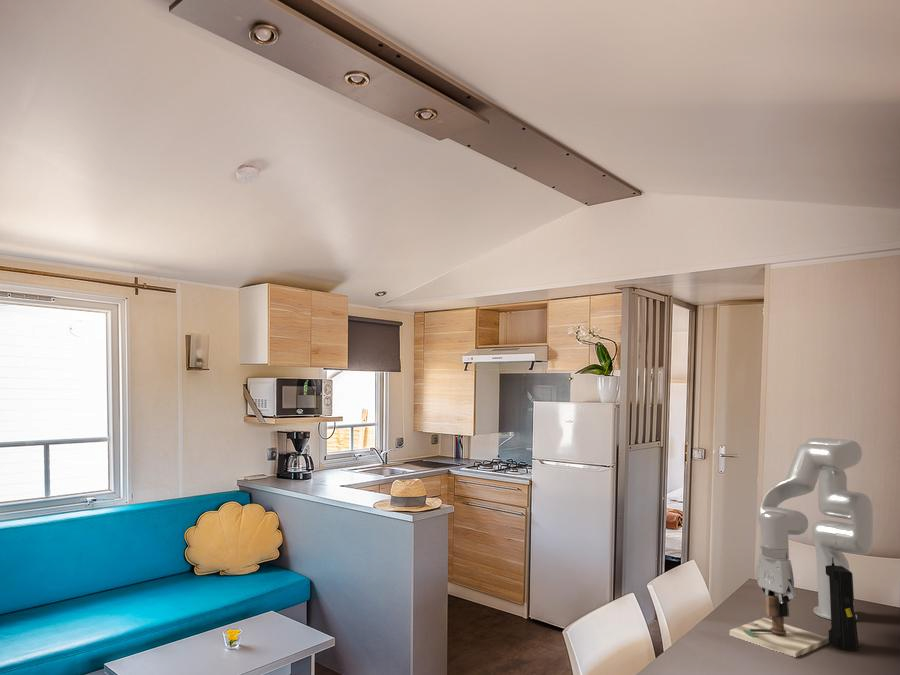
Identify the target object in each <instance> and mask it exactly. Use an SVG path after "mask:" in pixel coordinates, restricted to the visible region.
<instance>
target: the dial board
mask: <svg viewBox="0 0 900 675" xmlns="http://www.w3.org/2000/svg"><path fill="white" fill-rule="evenodd" d="M771 627H772V619H769V618H767V617H762V618H759V619H756V620H754V621H751V622H748V623H745V624H743V625H739V626H737V627H734V628H732V629H729V636H731V637H734V638H737V639H740V640H742V641H746V642H747V643H748V642H749V643H750V642H751V644H753V643H754V645H756V644H757V645H756V646H759V645H760V647H763V648H765V649H767V650H772V651H773V650H774V652H776V651H777V652H776V653H779V652H781V653H780V654H782V653H784V654H783V655H785V654H786V655H785V656H788V655H789V656H788V657H791V656H793V657H792V658H794V657H797V658H798V656H799V657H801V656H803V655H805V653H806V654H807V653H810V652H812V651H814V650H816V649H818V648H821V647H823V646H824V645H828V644H829V643H830V641H829V636H824V635H821V634H818V633H815V632H812V631H808V630H806V629H802V628H798V627H794V626H792V625H789V624H786V623H784V629H785V630H786V634H784V635H778V634H774V633H772V632H751V631H750V629H770V628H771ZM800 655H801V656H800Z"/></svg>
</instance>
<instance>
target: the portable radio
mask: <svg viewBox="0 0 900 675" xmlns="http://www.w3.org/2000/svg"><path fill="white" fill-rule="evenodd" d="M825 568H826V575H828V576H829V583H830V605H831V620H830V627H831V628H830V629H828V638H829V643H830V644H832V645H833V647H835V648H836V649H838V650H844V651H853V652H854V651H858V650H859V649H860V643H859V637H858V636H859V635H858V628H857V620H856V615H857V614H856V612H855V609H854V608H855V606H854V605H855V603H854V604H853V602H854V600H855V597H854V596H855V595H854V581H853V580H854V579H853V578H854V576H853V573H852V571H850V569H849V570H847V569H846V568H844V567H843V566H834V560H833V559H832V565H828V566H825Z"/></svg>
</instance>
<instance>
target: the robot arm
mask: <svg viewBox="0 0 900 675" xmlns="http://www.w3.org/2000/svg"><path fill="white" fill-rule="evenodd" d="M862 457H863V450H862V447H861V445H860V444H859V443H858V441H855V440H852V439H845V438H844V439H842V438H841V439H840V438H830V437H829V438H828V437H813V438H809V439H807V440H806V441H805V442H804V443H803V444H801V445H799V446H798V447H797V448H796V451H795V453H794V456H793V459H792V461H791V464H790V467H789V470H788V472H787V476H786V477H785V479H783V480H782V481H780V482H778V483H777V484H775V485H774V486H772V488H770V489H769V490H768V491H767V492H766V493H765V494H764V496H763V498H762V501H761V503H760V506H759V509H758V512H757V521H758V524H759V525H760V537H761V538H760V539H761V541H760V542H761V545H760V546H759V548H760V550H761V554H759V557H758V562H757V585H758V587H759V588H761V590H762V591H763V593H764V597H765V598H766V596H776V594H778V595H777V596H779V602H780V603H778V616H780V617H782V616H787V615H788V610H787V603H789V604H790V601H791V600H793V599H796V598H797V594H796V592H795V581H794V580H795V578H794V572H793V566H792V562H791V559H790V551H789V550H790V549H789V536H800V535H803V534H804V533H806V532H807V530H808V528H809V520H808V517H807V516H806V515H805V514H804V513H803V512H801V511H798V510H794V509H788V508H783V507H778V506H779V505H780V504H782V503H783V502H785V501H787V500H789V499H792V498H796V497H799V496H800V497H801V496H805V495H808V494H811V493H812V492H813V491H814V490H815V488H816V486H817V485H818V486H817V487H818V488H817V489H818V490H817V492H818V493H817V506H818V510H819V512H820V513H821V514H822V515H825V516H828V517H832V518H838V519H844V520H850V521H852V523H846V522H842V521H837V520H836V521H835V520H830V519H823V520H822V519H821V520H817V521H815V523H814V524H813V525H812V529H811V535H812V540H813V543H814V547H815V553H816V573H817V574H816V575H817V578H816V579H817V595H818V596H817V599H818V601H817V602H818V605H817V606H815V607H813V613H814V614H815V615H817V616H818V617H821V618H823V619H827V620H830V621H831V605H830V583H829V576H828V575H826V568H825V566H828V565H832V559H833V560H834V566H843V567H844V568H846V569H847V570H849V571H850V564H849V561H848V559H847V557H846V555H845V554H844V553H848V554H854V555H859V556H866V555H868V554H869V553H870V552H871V551H872V548H873V538H874V536H873V527H874V526H873V523H874V522H873V519H874V518H873V515H874V512H873V504H872V500H871V499H870V498H869V496H868V495H867V494H865V493H863V492H859V491H853V490H851V491H850V490H848V482H847V481H848V480H847V479H848V478H847V474H846V472H845V470H847V469H850V468H853V467H854V466H856V465H858V464H859V463H860V461H861V460H862ZM817 481H818V484H817ZM843 552H844V553H843ZM783 596H784V597H783ZM853 604H854V605H855V602H854V601H853ZM857 620H858V615H857V614H856V621H857Z"/></svg>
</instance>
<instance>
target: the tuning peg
mask: <svg viewBox="0 0 900 675" xmlns="http://www.w3.org/2000/svg"><path fill="white" fill-rule="evenodd" d="M783 597H784V595H783ZM778 603H780V602H779V596H778V595H775V596H766V597H765V614H766V616H768V617H771V620H772V627H771V628H770V629H750V631H751V632H772V633H774V634H778V635H784V634H786V630H785V629H784V624H785V620H784V617H786V618H787V617H788V618H789V617H790V605H789V604H790V602H789V603H787V610H788V615H787V616H782V617H780V616H778Z"/></svg>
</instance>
